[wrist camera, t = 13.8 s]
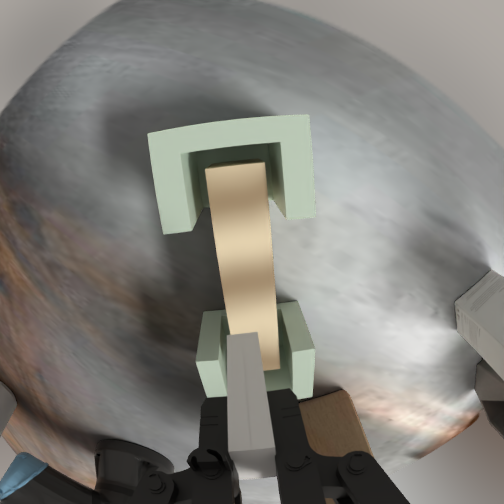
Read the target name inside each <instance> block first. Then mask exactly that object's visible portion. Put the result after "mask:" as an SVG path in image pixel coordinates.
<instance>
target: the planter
mask: <svg viewBox="0 0 504 504" xmlns="http://www.w3.org/2000/svg"><path fill="white" fill-rule="evenodd" d="M475 391H476V393H477V395H478V398H479V400H480V402H481V404H482V407H483V409H484V411H485V414H486V416H487V418H488V421H489V423H490V424H491V426H493V428H494V429H495V430H496V431H497V432H498V433H499V434H500V435H501V436H502V437H503V438H504V381H503V379H502V378H501V377H500V376H499V375H498V374H497V373H496V372H495V371H494V369H493V368H492V367H491V366H490V365H489V364H488V363H487V362H486V361H485V360H484V359H483V360H482V361H481V362H480V363H479V364H478V365H477V371H476V381H475Z"/></svg>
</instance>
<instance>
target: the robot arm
mask: <svg viewBox="0 0 504 504" xmlns="http://www.w3.org/2000/svg"><path fill="white" fill-rule="evenodd" d="M187 463H188V464H189V466H190V468H188V469H186V470H184V471H180V472H176V473H174V466H173V464H172V463H171V462H170V461H169V460H168V459H167V458H165V457H164V456H162V455H160V454H158V453H156V452H154V451H152V450H150V449H147V448H145V447H142V446H139V445H136V444H132V443H128V442H124V441H118V440H103V441H100V442H99V443H98V444H97V447H96V450H95V467H96V477H97V482H96V486H95V490H93V489H91V488H89V487H87V486H85V485H83V484H81V483H79V482H77V481H75V480H73V479H71V478H69V477H67V476H66V475H64V474H62V473H60V472H59V471H57V470H55V469H54V468H52V467H50V466H49V464H48V463H44V462H43V461H41V460H39V459H37V458H36V457H34V456H33V455H31V454H29V453H27V452H21V453H19V454H18V455H17V456H16V457H15V459H14V461H13V462H12V463H11V465H10V467H9V468H8V470H7V471H6V473H5V474H4V476H3V478H2V479H1V481H0V504H242V497H241V490H240V488H239V480H246V479H257V478H267V477H275V476H277V479H278V487H279V494H280V501H281V504H326V501H325V498H332V499H333V500H334V502H335V504H410V503H409V502H408V500H407V499H406V498H405V497H404V495H403V494H402V493H401V492H400V490H399V489H398V488H397V487H396V486H395V484H394V483H393V482H392V480H391V479H390V478H389V477H388V475H387V474H386V473H385V472H384V470H383V469H382V468H381V466H380V465H379V464H378V463H377V461H376V460H375V459H374V457H373V456H371V455H370V454H369V453H367V452H364V451H353V452H349V453H347V454H346V455H344V456H343V457H334V456H323V455H320V454H318V453H316V452H315V451H313V449H312V448H311V447H310V445H309V443H308V439H307V435H306V431H305V427H304V423H303V419H302V416H301V411H300V408H299V403H298V399H297V396H296V395H295V394H294V393H293V391H292V390H291V389H290V388H287V389H280V390H273V391H266V385H265V378H264V372H263V365H262V358H261V352H260V345H259V339H258V332H251V333H243V334H234V335H227V396H223V397H208V398H206V399H205V401H204V403H203V405H202V406H201V419H200V432H199V448H197V449H195V450H193V451H192V452H191V454H190V455H189V456H188V459H187Z"/></svg>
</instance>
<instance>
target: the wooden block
mask: <svg viewBox="0 0 504 504" xmlns="http://www.w3.org/2000/svg"><path fill="white" fill-rule="evenodd" d="M299 408H300V411H301V416H302V419H303V423H304V427H305V431H306V435H307V439H308V443H309V445H310V447H311V448H312V449H313V451H315V452H316V453H318V454H320V455H323V456H334V457H343V456H344V455H346V454H347V453H349V452H353V451H364V452H367V453H369V454H370V455H371V456H373V454H372V451H371V448H370V446H369V443H368V440H367V438H366V435H365V433H364V430H363V427H362V425H361V422H360V420H359V417H358V415H357V412H356V410H355V407H354V405H353V402H352V400H351V397H350V395H349V394H348V393H347V392H346V391H345V390H340V391H337V392H334V393H331V394H328V395H325V396H321V397H318V398H315V399H312V400H308V401H305V402H301V403H299ZM373 457H374V456H373ZM325 501H326V504H335V502H334V500H333V499H332V498H325Z"/></svg>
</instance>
